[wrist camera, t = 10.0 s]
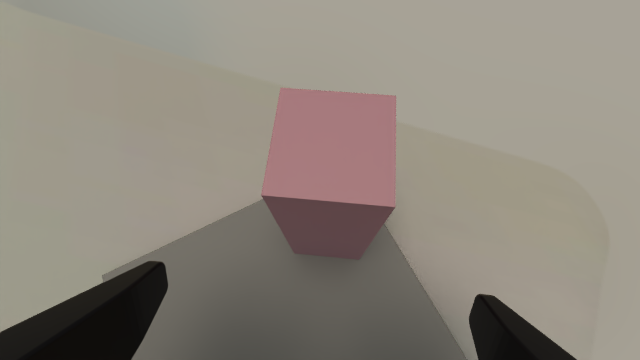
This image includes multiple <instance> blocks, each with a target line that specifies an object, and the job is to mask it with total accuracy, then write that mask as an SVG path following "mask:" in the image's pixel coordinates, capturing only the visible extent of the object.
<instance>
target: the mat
mask: <svg viewBox="0 0 640 360" xmlns="http://www.w3.org/2000/svg"><path fill="white" fill-rule="evenodd" d="M147 261H161V262H163V263H164V264H165V267H166V273H167V279H168V290H167V292H166V295H165V297H164V299H163V301H162V303H161V305H160V307H159V309H158V311H157V313H156V315H155V317H154V319H153V321H152V323H151V325H150V327H149V329H148V331H147V333H146V335H145V337H144V339H143V341H142V343H141V344H140V346H139V348H138V349H137V351H136V353H135V354H134V356H133V358H132V359H131V360H467V359H466V357H465V356H464V354H463V352H462V351H461V349H460V347H459V346H458V344H457V342H456V341H455V339H454V338H453V336H452V334H451V333H450V331H449V329H448V328H447V326H446V324H445V323H444V321H443V319H442V318H441V316H440V314H439V313H438V311H437V310H436V308H435V306H434V305H433V303H432V301H431V300H430V298H429V296H428V295H427V293H426V291H425V290H424V288H423V286H422V285H421V283H420V282H419V280H418V278H417V277H416V275H415V273H414V272H413V270H412V268H411V267H410V265H409V263H408V262H407V260H406V258H405V257H404V255H403V254H402V252H401V250H400V249H399V247H398V245H397V244H396V242H395V240H394V239H393V237H392V235H391V234H390V232H389V231H388V229H387V227H386V226H385V224H383V226H382V227H381V229H380V230H379V231H378V233H377V234H376V236H375V237H374V239H373V240H372V242H371V243H370V245H369V246H368V248H367V249H366V250H365V252H364V253H363V255H362V256H361V258H360V259H359V260H357V259H347V258H336V257H326V256H316V255H306V254H296V253H294V252H293V250H292V248H291V247H290V245H289V243H288V241H287V240H286V238H285V236H284V234H283V233H282V231H281V229H280V227H279V226H278V224H277V222H276V220H275V219H274V217H273V215H272V213H271V212H270V210H269V208H268V206H267V204H266V203H265V201H264V199H262V200H260V201H258V202H256V203H254V204H252V205H250V206H247V207H245V208H243V209H241V210H239V211H237V212H235V213H233V214H231V215H228V216H226V217H224V218H222V219H220V220H218V221H216V222H214V223H212V224H209V225H207V226H205V227H203V228H201V229H199V230H197V231H195V232H193V233H191V234H188V235H186V236H184V237H182V238H180V239H178V240H176V241H174V242H172V243H169V244H167V245H165V246H163V247H161V248H159V249H157V250H155V251H153V252H151V253H148V254H146V255H144V256H142V257H140V258H138V259H136V260H134V261H132V262H129V263H127V264H125V265H123V266H121V267H119V268H117V269H115V270H113V271H111V272H108V273H106V274H104V275H102V278H103V282H105V281H108V280H110V279H112V278H114V277H116V276H118V275H120V274H122V273H124V272H126V271H128V270H130V269H132V268H135V267H137V266H139V265H141V264H143V263H145V262H147Z"/></svg>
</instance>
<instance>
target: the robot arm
mask: <svg viewBox="0 0 640 360" xmlns="http://www.w3.org/2000/svg"><path fill="white" fill-rule="evenodd" d="M167 290H168V279H167V273H166V267H165V264H164V263H163V262H161V261H147V262H145V263H143V264H141V265H139V266H137V267H135V268H132V269H130V270H128V271H126V272H124V273H122V274H120V275H118V276H116V277H114V278H112V279H110V280H108V281H105V282H103V283H101V284H99V285H97V286H95V287H93V288H91V289H89V290H87V291H85V292H83V293H81V294H78V295H76V296H74V297H72V298H70V299H68V300H66V301H64V302H62V303H60V304H58V305H56V306H54V307H51V308H49V309H47V310H45V311H43V312H41V313H39V314H37V315H35V316H33V317H31V318H29V319H27V320H24V321H22V322H20V323H18V324H16V325H14V326H12V327H10V328H8V329H6V330H4V331H2V332H0V360H131V359H132V358H133V356H134V354H135V353H136V351H137V349H138V348H139V346H140V344H141V343H142V341H143V339H144V337H145V335H146V333H147V331H148V329H149V327H150V325H151V323H152V321H153V319H154V317H155V315H156V313H157V311H158V309H159V307H160V305H161V303H162V301H163V299H164V297H165V295H166V292H167ZM469 324H470V328H471V332H472V336H473V340H474V344H475V348H476V352H477V356H478V360H577V359H575V358H574V357H573V356H571V355H570V354H569V353H568V352H566V351H565V350H564V349H562V348H561V347H560V346H558V345H557V344H556V343H555V342H553V341H552V340H551V339H549V338H548V337H547V336H545V335H544V334H543V333H542V332H540V331H539V330H538V329H536V328H535V327H534V326H532V325H531V324H530V323H529V322H527V321H526V320H525V319H523V318H522V317H521V316H519V315H518V314H517V313H516V312H514V311H513V310H512V309H510V308H509V307H508V306H506V305H505V304H504V303H503V302H501V301H500V300H499V299H497V298H496V297H495V296H492V295H485V294H478V295H477V296H476V297H475V300H474V303H473V306H472V309H471V313H470V316H469Z"/></svg>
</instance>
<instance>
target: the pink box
mask: <svg viewBox="0 0 640 360" xmlns="http://www.w3.org/2000/svg"><path fill="white" fill-rule="evenodd" d="M395 173H396V96H392V95H377V94H363V93H348V92H334V91H319V90H305V89H291V88H281V89H280V94H279V100H278V105H277V111H276V116H275V122H274V127H273V133H272V138H271V144H270V150H269V155H268V161H267V166H266V172H265V177H264V183H263V188H262V194H261V196H262V197H263V199H264V201H265V203H266V204H267V206H268V208H269V210H270V212H271V213H272V215H273V217H274V219H275V220H276V222H277V224H278V226H279V227H280V229H281V231H282V233H283V234H284V236H285V238H286V240H287V241H288V243H289V245H290V247H291V248H292V250H293V252H294V253H296V254H306V255H316V256H326V257H336V258H347V259H357V260H359V259H360V258H361V256H362V255H363V253H364V252H365V250H366V249H367V248H368V246H369V245H370V243H371V242H372V240H373V239H374V237H375V236H376V234H377V233H378V231H379V230H380V229H381V227H382V226H383V224H384V223H385V221H386V220H387V218H388V217H389V215H390V214H391V213H392V211H393V210H394V208H395Z"/></svg>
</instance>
